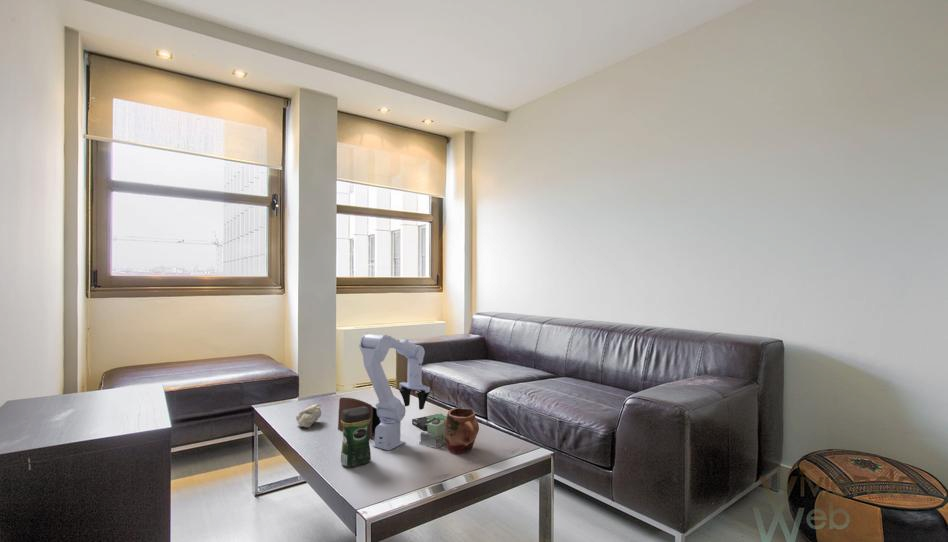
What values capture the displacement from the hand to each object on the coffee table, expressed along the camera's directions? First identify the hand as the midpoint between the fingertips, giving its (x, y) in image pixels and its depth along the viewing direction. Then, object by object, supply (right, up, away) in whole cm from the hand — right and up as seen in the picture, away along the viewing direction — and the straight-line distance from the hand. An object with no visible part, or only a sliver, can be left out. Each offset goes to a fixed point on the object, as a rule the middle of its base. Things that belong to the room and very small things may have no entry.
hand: (414, 407), depth 180 cm
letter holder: (-21, -10, +1) cm, 23 cm away
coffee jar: (-16, -10, -30) cm, 36 cm away
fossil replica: (-46, -10, +7) cm, 48 cm away
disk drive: (+7, -11, +10) cm, 16 cm away
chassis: (+10, -10, -10) cm, 17 cm away
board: (+10, -7, -9) cm, 16 cm away
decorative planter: (+20, -10, -19) cm, 29 cm away
